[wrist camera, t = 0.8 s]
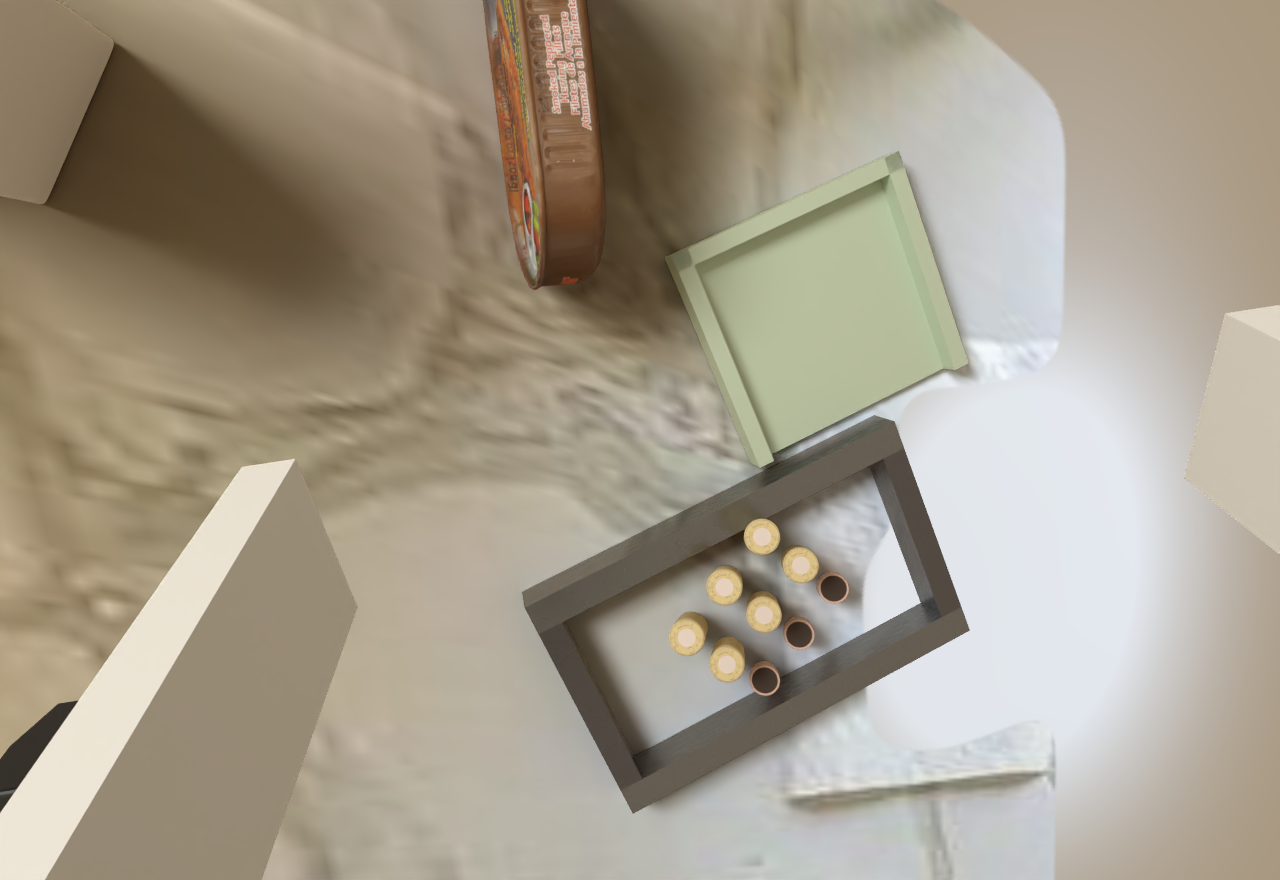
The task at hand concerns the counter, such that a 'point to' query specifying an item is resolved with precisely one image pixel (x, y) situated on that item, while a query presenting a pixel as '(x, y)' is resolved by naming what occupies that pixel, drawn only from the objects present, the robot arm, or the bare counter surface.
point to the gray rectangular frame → (802, 687)
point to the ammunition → (756, 610)
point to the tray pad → (819, 306)
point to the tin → (549, 135)
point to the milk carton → (43, 91)
